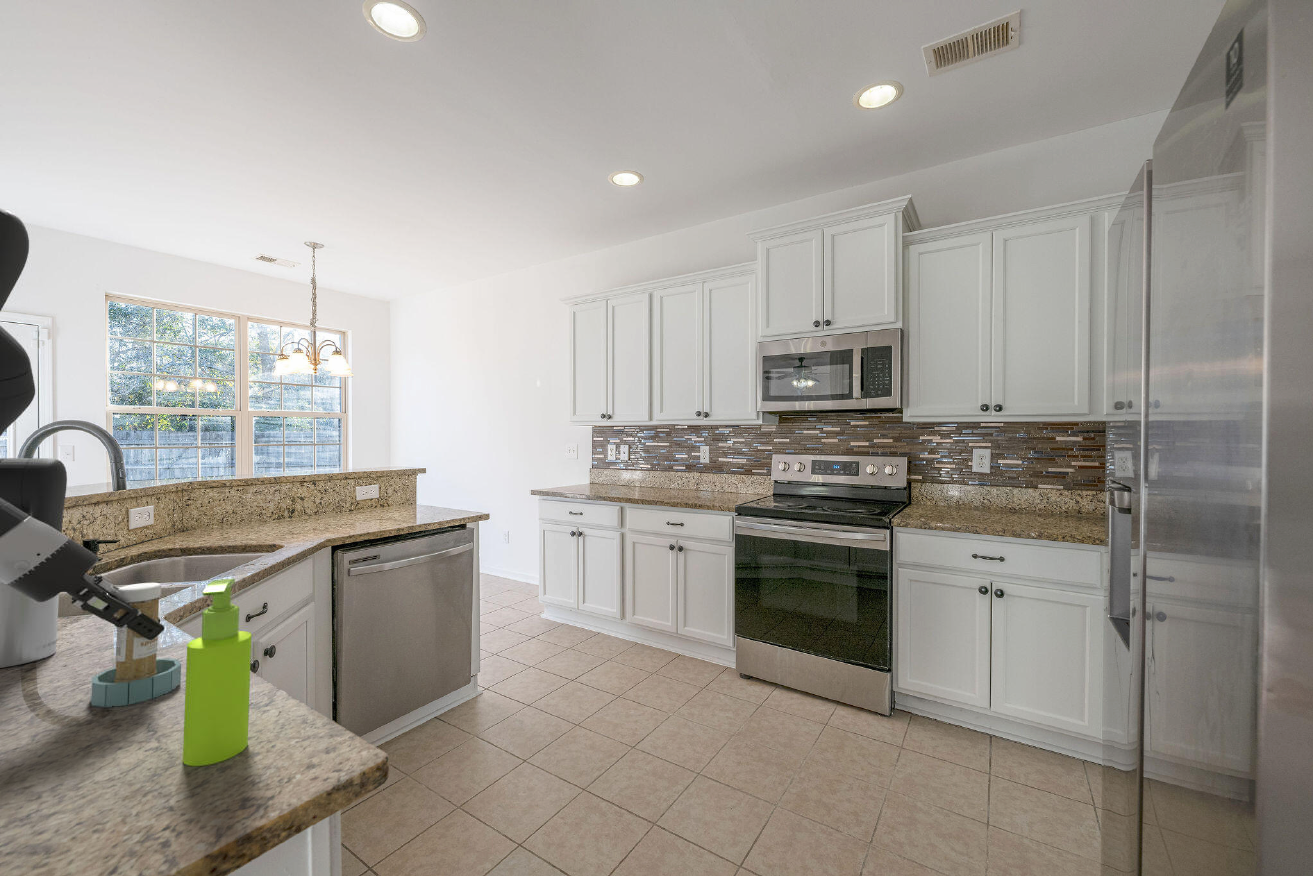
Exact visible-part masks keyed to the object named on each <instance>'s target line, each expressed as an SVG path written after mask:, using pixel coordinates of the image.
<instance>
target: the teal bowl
mask: <svg viewBox="0 0 1313 876" xmlns="http://www.w3.org/2000/svg"><path fill="white" fill-rule="evenodd" d="M156 670H157V674H156V675H154V676H152V677H147V678H143V679H138V680H134V681H128V682H118V683H115V682H114V679H115V677H116V666H115V667H112V668H109V669H106V670H103V671H101V672H99V673H98V674H95V675H94V676H93V677H91V679H90V680H91V684H90V685H91V686H90V687H91V688H90V705H91V706H92V707H93V706H94V707H99V708H111V707H112V706H114V707H122V706H128V705H133V704H138V703H141V702H146V701H149V699H151V700H152V699H156V698H159V697H161V696H164V695H166V694H168V692H169V693H171V692H173V691H174V690H175V689H176V686H178V685H179V684H180V685H181V683H182V682H181V676H182V663H181V661H180V660H179V659H176V658H167V657H165V658H164V657H163V658H156ZM180 685H179V686H180ZM179 686H178V687H179ZM174 688H175V689H174ZM173 689H174V690H173ZM172 690H173V691H172ZM170 691H171V692H170ZM163 694H164V695H163ZM160 695H161V696H160ZM155 697H156V698H155Z"/></svg>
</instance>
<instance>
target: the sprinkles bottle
mask: <svg viewBox="0 0 1313 876" xmlns="http://www.w3.org/2000/svg"><path fill="white" fill-rule="evenodd" d="M118 588H119V589H118V591H119V592H120V593H122V594H123V595H125V596H126V597H128V598H129V604H131V605H132V606H134V607H135V608H137V609H140V610H141V612H142V613H144V614H145V615H147V616H149V617H150V618H152V619H154V620H155V621H157V622H158V618H159V605H160V602H159V601H160V597H161V595H162V584H161V583H158V582H143V583H134V584H129V585H124V586H122V587H118ZM118 600H119V598H118ZM126 612H127V611H126V610H124V609H120V610H119V612H118V618H120V617H121V616H122V615H123V614H124V613H126ZM115 641H116V642H115V643H116V644H115V645H116V646H115V661H116V662H115V667H116V677H115V679H114V682H115V683H118V682H128V681H134V680H138V679H143V678H147V677H152V676H154V675H156V674H157V670H156V659H157V654H158V644H159V635H158V636H157V637H156V638H155V639H153V640H148V639H146V638H145V637H143V636H141V635H139V634H138V633H136V632H134V631H132V630H131V629H129V628H127V627H125V628H124V627H122V628H120V627H116V640H115Z"/></svg>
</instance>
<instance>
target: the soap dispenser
mask: <svg viewBox="0 0 1313 876" xmlns="http://www.w3.org/2000/svg"><path fill="white" fill-rule="evenodd" d="M234 584H236V579H235V578H225V579H215V580H212V581H211V582H209V583H208V584H207V586H205V588H204V589H203V591H202V596H204V597H205V596H206V597H207V596H212V602H211V604H212V605H211V606H209V607H208V608H207V609H204V610H203V611H202V621H201V622H202V623H201V637H200V636H199V637H197V638H195V639H193V640H190V641H189V642H188V643H187V645H186V667H185V688H184V689H185V692H184V716H183V718H184V721H183V744H182V745H183V746H182V762H183V764H185V765H186V766H190V767H203V766H208V765H213V764H218V763H221V762H223V761H226V760H228V759H231V758H234V756H235V757H236V756H237V755H238V754H241V753H242V752H243V751H244V750H245V749H246V747H248V744H249V743H248V742H249V718H250V717H249V714H250V713H249V712H250V687H251V686H250V685H251V662H252V661H251V657H252V633H251V632H249V631H242V630H239V629H240V606H239V605H235V604H234V603H231V599H232V586H233V585H234Z"/></svg>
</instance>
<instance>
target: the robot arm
mask: <svg viewBox="0 0 1313 876" xmlns="http://www.w3.org/2000/svg"><path fill="white" fill-rule="evenodd" d="M29 252H30V237H29V233H28V230H27V228H26V226H25V224H24V223H23V221H22V220H21V218H20V217H18V216H17V215H16V214H14V213H13V212H11V211H10V210H6V209H3V208H0V312H1V311H2V310H3V308H4V306H5V304H6V302H7V300H8V299H9V297H10V295H11V293H12V291H13V290H14V288H15V286H16V284H17V283H18V280H19V278H20V276H21V275H22V272H23V270H24V268H25V266H26V264H27V260H28V257H29V256H28V255H29ZM35 395H36V385H35V380H34V374H33V370H32V364H31V359H30V356H29V355H28V352H27V350H25V348H24V347H23V346H22V345H21V343H20V342H19V341H18V340H17V339H16V338H15V337H14V336H12V335H11V334H10V332H8V330H7V329H5V328H4V327H3V326H2V325H0V437H1V436H2V435H3V434H4V433H5V432H6V430H7V429H8V428H9V427H10V426H11V425H12V424H13V423H15V421H16V420H17V419H18V418H20V416H22V415H23V413H24V412H25V411H26V410H27V409H28V407H29V406H30V405H31V403H32V402H33V401H34V398H35ZM67 484H68V475H67V469H66V466H65V464H64V463H63V462H62V461H61V460H60V459H57V458H48V457H47V458H45V457H44V458H40V457H39V458H37V457H36V458H35V457H34V458H32V457H30V458H28V457H23V458H21V457H19V458H18V457H7V458H4V457H2V458H1V457H0V669H1V668H8V667H13V666H18V665H23V664H27V663H32V662H35V661H40V660H42V659H46V658H48V657H50V656H52V655H54V654H55V653H56V652H57V643H58V642H57V641H58V620H59V598H60V597H59V595H60V593H66V594H68V595H69V596H70V600H72V601H71V602H70V604H72V605H74V606H75V607H77V608H79V609H80V610H83V611H87V612H89V613H90V614H92V615H94V616H95V617H97V618H99V619H101V620H104V621H106V622H108V623H110V624H112V625H114V627H116V628H117V627H120V628H122V627H124V628H125V627H127V628H129V629H131V630H132V631H134V632H136V633H138V634H139V635H141V636H143V637H145V638H146V639H148V640H153V639H155V638H156V637H157V636H158V637H159V635H160V634H161V633H163V631H165V625H164V624H162V623H161V619H160V617H158V622H157V621H155V620H154V619H152V618H150V617H149V616H147V615H145V614H144V613H142V612H141V610H140V609H137V608H135V607H134V606H132V605H131V604H129V598H128V597H126V596H125V595H123V594H122V593H120V592H119V591H118V589H119V588H120V587H118V586H117V585H115V584H113V582H112V581H111V580H110V579H108V577H105V576H104V575H101V574H100V575H96V574H95V575H94V576H91V575H90V574H88V573H87V572H89V571H90V570H91V569H92V568H94V566H95V565H96V564H97V563H98V561H99V556H98V555H97V554H96V553H94V552H92V551H91V550H89V549H88V548H86V547H84V546H83V545H82V544H80V543H78V542H76V541H75V540H74V539H72V538H70V537H69V536H68V535H65V534H64V533H63V519H64V510H65V503H66V494H67V493H66V492H67V487H68V485H67ZM29 514H31V516H30V515H29ZM118 598H119V600H118ZM120 609H124V610H126V611H127V612H126V613H124V614H123V615H122V616H121V617H120V618H118V612H119V610H120Z"/></svg>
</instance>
